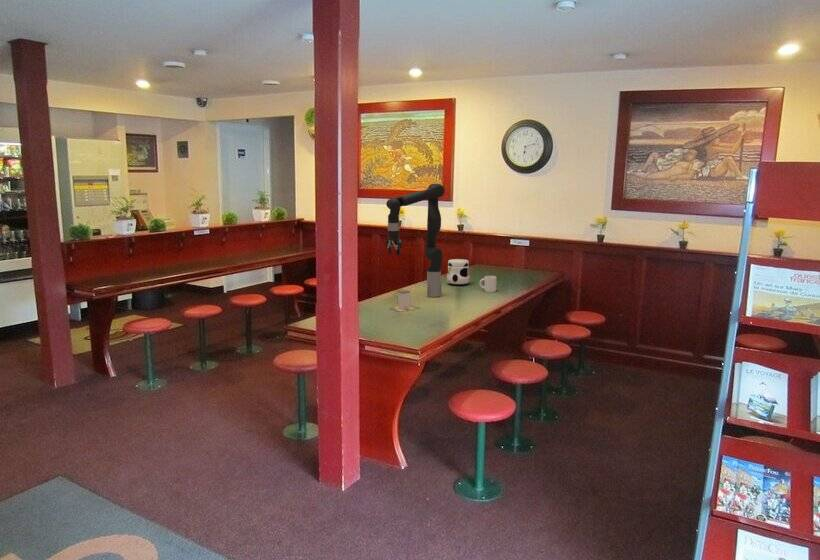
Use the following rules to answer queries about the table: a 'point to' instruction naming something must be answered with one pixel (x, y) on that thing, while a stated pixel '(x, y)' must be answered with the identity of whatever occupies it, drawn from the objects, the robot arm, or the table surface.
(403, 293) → the canister
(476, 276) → the table surface
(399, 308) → the mat
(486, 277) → the mug
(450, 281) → the milk container
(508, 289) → the table surface
